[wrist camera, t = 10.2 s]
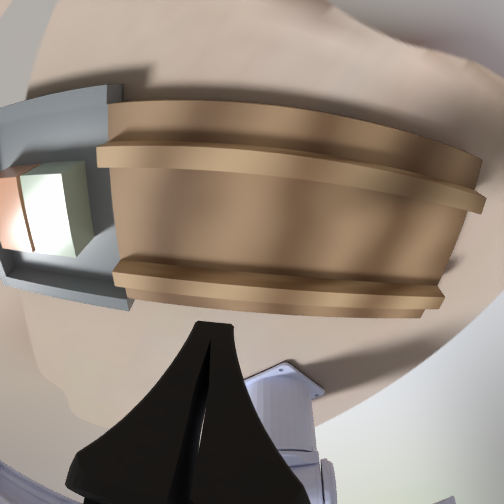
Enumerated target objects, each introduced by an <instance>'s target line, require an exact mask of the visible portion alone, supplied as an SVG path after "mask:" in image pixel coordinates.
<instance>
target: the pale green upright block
mask: <svg viewBox="0 0 504 504" xmlns="http://www.w3.org/2000/svg"><path fill="white" fill-rule="evenodd" d="M20 180H21V187H22V192H23V198H24V203H25V208H26V213H27V217H28V222H29V226H30V230H31V234H32V238H33V242H34V245H35V249H36V252H37V253H43V254H51V255H59V256H66V257H74V258H76V257H77V256H78V255H79V254H80V253H81V252H82V251H83V249H84V248H85V247H86V246H87V245H88V244H89V243H90V241H91V240H92V239H93V238H94V237H95V236H94V230H93V224H92V218H91V211H90V204H89V196H88V187H87V178H86V167H85V160H84V161H64V162H49V163H43V164H41V165H39V166H37V167H35V168H33V169H32V170H30V171H28V172H26V173H24V174H22V175H21V176H20Z"/></svg>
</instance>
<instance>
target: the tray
mask: <svg viewBox="0 0 504 504" xmlns="http://www.w3.org/2000/svg"><path fill="white" fill-rule="evenodd" d="M122 96H123V84H108V85H100V86H93V87H86V88H80V89H74V90H69V91H64V92H59V93H54V94H50V95H45V96H41V97H37V98H33V99H29V100H26V101H22V102H19V103H15V104H12V105H8V106H5V107H2V108H0V172H1V171H3V170H4V169H6V168H8V167H13V166H23V165H34V164H43V163H49V162H64V161H84V160H85V167H86V178H87V187H88V196H89V204H90V211H91V218H92V224H93V230H94V236H95V237H94V238H93V239H92V240H91V241H90V243H89V244H88V245H87V246H86V247H85V248H84V249H83V251H82V252H81V253H80V254H79V255H78V256H77V257H76V258H74V257H66V256H59V255H51V254H43V253H37V252H36V250H35V251H34V252H33V253H32V252H25V251H18V250H11V249H4V248H2V245H1V241H0V278H1V280H2V283H3V285H5V286H9V287H13V288H17V289H21V290H25V291H29V292H34V293H38V294H42V295H47V296H51V297H56V298H60V299H65V300H70V301H75V302H80V303H85V304H90V305H96V306H101V307H107V308H113V309H119V310H125V311H129V310H130V308H131V306H132V304H133V302H134V300H135V299H131V298H127V294H126V289H125V288H124V287H117V286H115V284H114V279H113V275H112V271H113V269H114V268H115V266H116V265H117V263H118V262H119V261H120V256H119V249H118V243H117V236H116V229H115V221H114V212H113V203H112V193H111V181H110V168H97V152H96V147H97V146H100V145H102V144H104V143H106V142H108V104H111V103H118V102H122Z"/></svg>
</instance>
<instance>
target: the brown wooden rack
mask: <svg viewBox="0 0 504 504" xmlns="http://www.w3.org/2000/svg"><path fill="white" fill-rule="evenodd" d="M96 152H97V168H110V181H111V193H112V203H113V212H114V221H115V229H116V236H117V243H118V249H119V256H120V261H119V262H118V263H117V265H116V266H115V268H114V269H113V271H112V275H113V279H114V284H115V286H117V287H124V288H125V289H126V294H127V298H131V299H138V300H145V301H152V302H160V303H168V304H176V305H184V306H193V307H202V308H212V309H222V310H233V311H244V312H257V313H270V314H285V315H302V316H322V317H350V318H421V316H422V314H423V312H424V310H425V309H439V308H440V306H441V304H442V302H443V300H444V299H445V296H444V295H443V293H442V292H441V290H440V289H439V288H438V286H437V285H438V283H439V280H440V278H441V276H442V274H443V272H444V270H445V267H446V265H447V263H448V261H449V258H450V256H451V254H452V251H453V249H454V246H455V244H456V241H457V239H458V236H459V234H460V231H461V228H462V226H463V223H464V220H465V217H466V214H467V211H470V212H474V213H478V214H481V213H482V210H483V207H484V204H485V201H486V198H485V197H484V196H482V195H481V194H479V193H478V192H476V191H475V190H474V189H475V186H476V182H477V179H478V175H479V172H480V168H481V164H482V159H480V158H478V157H475V156H473V155H471V154H469V153H467V152H464V151H462V150H459V149H457V148H454V147H451V146H449V145H446V144H443V143H440V142H437V141H434V140H431V139H428V138H425V137H422V136H419V135H416V134H413V133H409V132H406V131H403V130H399V129H396V128H392V127H388V126H384V125H381V124H377V123H373V122H369V121H364V120H360V119H355V118H351V117H346V116H341V115H336V114H331V113H326V112H320V111H314V110H308V109H302V108H295V107H287V106H280V105H271V104H262V103H251V102H238V101H222V100H189V99H174V100H142V101H126V102H118V103H111V104H108V142H106V143H104V144H102V145H100V146H97V147H96Z"/></svg>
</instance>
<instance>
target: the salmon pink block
mask: <svg viewBox="0 0 504 504" xmlns="http://www.w3.org/2000/svg"><path fill="white" fill-rule="evenodd" d="M39 165H41V164H34V165H23V166H13V167H8V168H6V169H4V170H3V171H1V172H0V241H1V245H2V248H4V249H11V250H18V251H25V252H32V253H33V252H34V251H35V250H36V249H35V245H34V242H33V238H32V234H31V230H30V226H29V222H28V217H27V213H26V208H25V203H24V198H23V192H22V187H21V180H20V176H21V175H22V174H24V173H26V172H28V171H30V170H32V169H33V168H35V167H37V166H39Z"/></svg>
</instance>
